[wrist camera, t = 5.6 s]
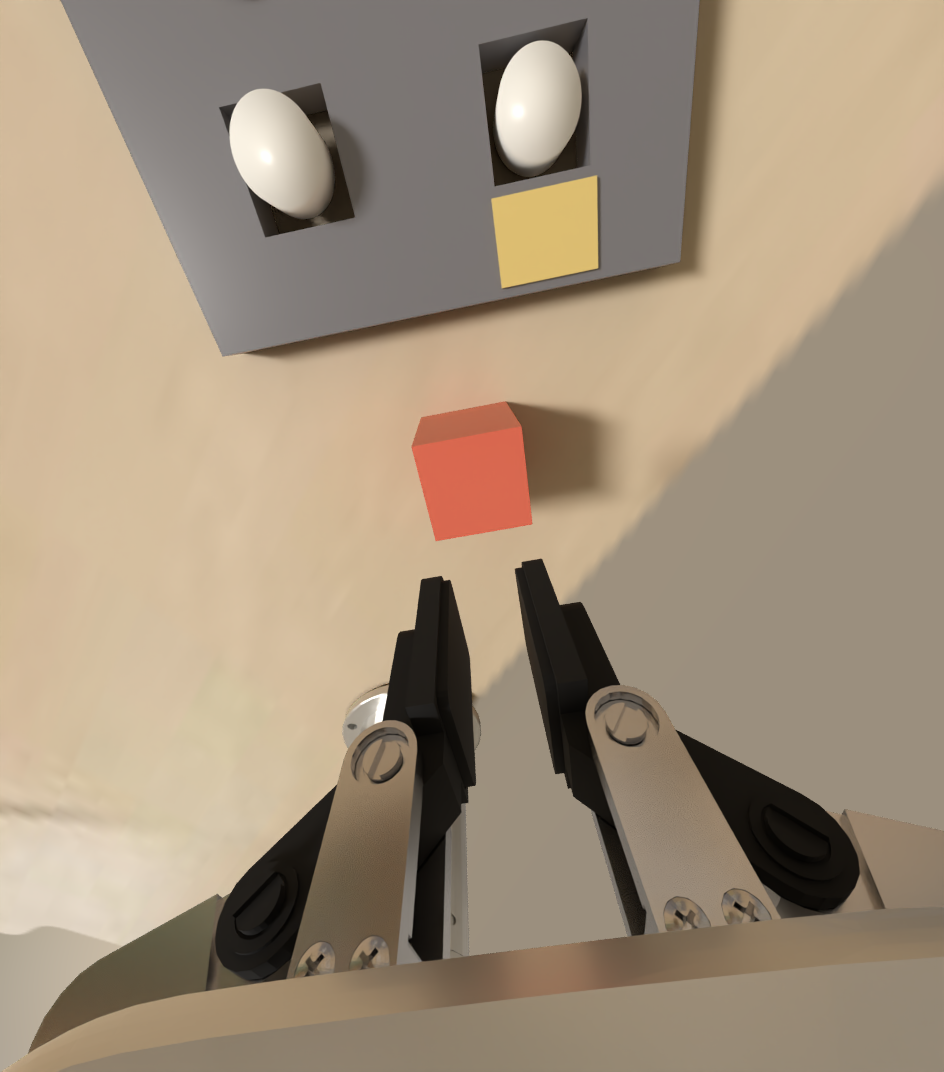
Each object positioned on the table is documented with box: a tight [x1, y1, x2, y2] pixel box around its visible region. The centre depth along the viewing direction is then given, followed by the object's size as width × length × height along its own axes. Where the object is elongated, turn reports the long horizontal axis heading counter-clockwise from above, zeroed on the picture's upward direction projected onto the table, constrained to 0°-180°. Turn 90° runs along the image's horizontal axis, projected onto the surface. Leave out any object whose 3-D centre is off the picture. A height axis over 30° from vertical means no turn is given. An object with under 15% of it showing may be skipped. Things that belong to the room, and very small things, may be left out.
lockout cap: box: [412, 401, 532, 541], centre depth 21 cm, size 5×5×6 cm
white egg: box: [230, 89, 335, 219], centre depth 15 cm, size 3×3×2 cm
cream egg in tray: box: [493, 40, 582, 177], centre depth 15 cm, size 3×3×2 cm
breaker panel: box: [61, 0, 700, 356], centre depth 15 cm, size 15×22×3 cm
